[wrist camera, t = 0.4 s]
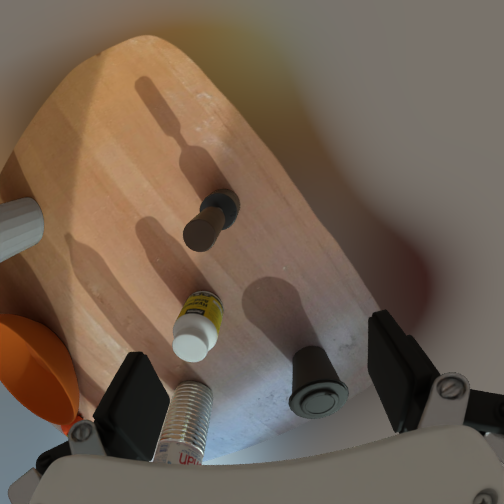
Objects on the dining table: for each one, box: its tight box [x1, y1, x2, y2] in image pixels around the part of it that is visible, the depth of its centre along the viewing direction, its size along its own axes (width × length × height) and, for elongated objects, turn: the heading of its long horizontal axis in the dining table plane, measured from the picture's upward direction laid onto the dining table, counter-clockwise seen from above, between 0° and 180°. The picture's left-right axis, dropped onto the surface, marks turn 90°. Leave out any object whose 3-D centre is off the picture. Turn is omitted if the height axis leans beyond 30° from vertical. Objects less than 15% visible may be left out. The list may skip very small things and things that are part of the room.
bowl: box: [0, 314, 79, 425], centre depth 38 cm, size 25×25×10 cm
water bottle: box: [153, 381, 213, 465], centre depth 32 cm, size 7×7×25 cm
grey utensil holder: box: [0, 197, 44, 263], centre depth 29 cm, size 8×8×12 cm
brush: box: [183, 189, 240, 252], centre depth 27 cm, size 4×4×15 cm
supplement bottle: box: [172, 291, 224, 362], centre depth 34 cm, size 5×5×10 cm
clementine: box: [61, 415, 83, 437], centre depth 46 cm, size 8×7×7 cm
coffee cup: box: [289, 346, 349, 419], centre depth 36 cm, size 8×8×10 cm
